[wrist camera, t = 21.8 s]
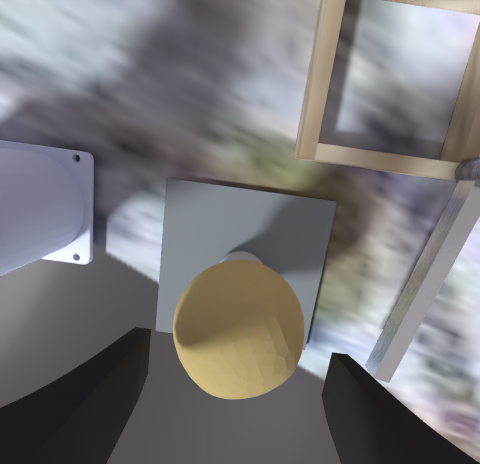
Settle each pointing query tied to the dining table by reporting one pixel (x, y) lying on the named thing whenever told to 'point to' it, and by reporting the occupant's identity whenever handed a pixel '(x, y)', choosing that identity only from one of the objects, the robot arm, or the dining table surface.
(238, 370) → the light bulb
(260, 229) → the gray square panel
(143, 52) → the dining table surface
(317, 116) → the square wooden frame
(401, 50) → the dining table surface
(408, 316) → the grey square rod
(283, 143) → the dining table surface
